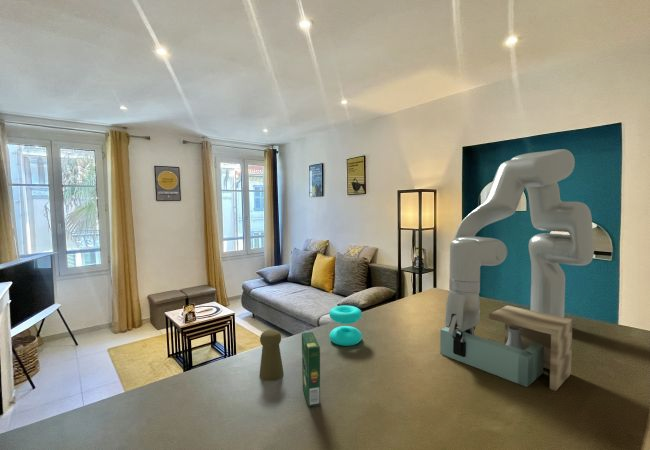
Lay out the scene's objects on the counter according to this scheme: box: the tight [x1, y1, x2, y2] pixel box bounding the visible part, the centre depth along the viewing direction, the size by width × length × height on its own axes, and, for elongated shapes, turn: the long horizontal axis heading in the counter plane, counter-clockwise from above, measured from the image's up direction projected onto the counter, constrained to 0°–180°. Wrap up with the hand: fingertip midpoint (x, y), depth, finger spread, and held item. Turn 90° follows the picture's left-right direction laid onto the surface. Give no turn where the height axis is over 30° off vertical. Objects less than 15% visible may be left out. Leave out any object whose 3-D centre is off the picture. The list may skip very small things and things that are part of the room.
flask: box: [506, 326, 524, 350], centre depth 84 cm, size 7×7×10 cm
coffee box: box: [301, 331, 321, 408], centre depth 71 cm, size 8×3×13 cm, turn 13°
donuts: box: [329, 304, 363, 347], centre depth 101 cm, size 10×10×10 cm
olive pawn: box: [258, 329, 284, 382], centre depth 81 cm, size 6×6×11 cm
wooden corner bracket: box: [488, 304, 573, 392], centre depth 82 cm, size 11×15×14 cm
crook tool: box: [439, 326, 544, 388], centre depth 86 cm, size 10×22×7 cm, turn 39°
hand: (463, 352), depth 88 cm, fingers closed on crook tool, 3 cm apart
